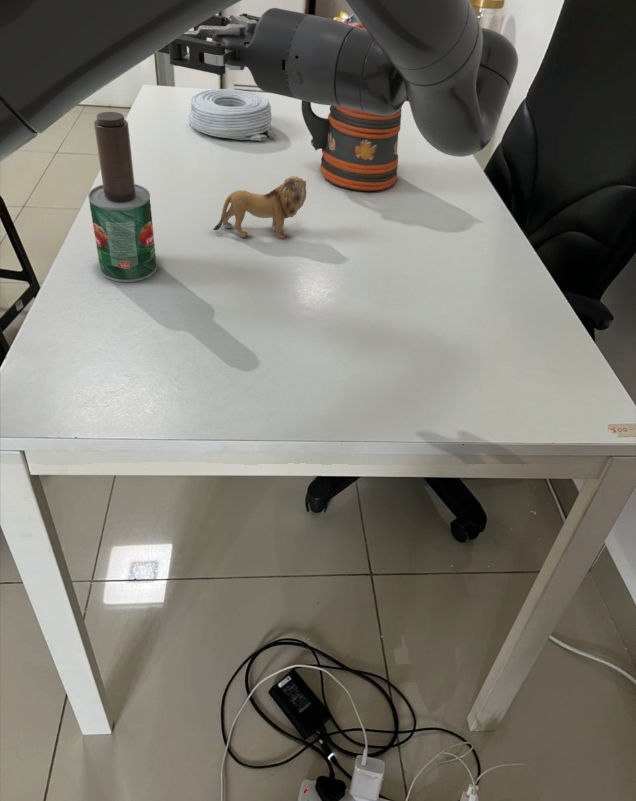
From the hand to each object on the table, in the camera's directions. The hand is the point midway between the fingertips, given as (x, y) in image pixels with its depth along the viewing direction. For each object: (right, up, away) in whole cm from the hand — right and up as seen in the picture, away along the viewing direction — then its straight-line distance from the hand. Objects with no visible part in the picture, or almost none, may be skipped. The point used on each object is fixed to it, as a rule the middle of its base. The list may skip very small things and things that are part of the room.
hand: (171, 29), depth 68 cm
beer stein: (+21, +4, +55) cm, 59 cm away
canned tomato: (-12, -21, +24) cm, 34 cm away
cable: (-3, +19, +70) cm, 72 cm away
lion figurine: (+6, -12, +36) cm, 38 cm away
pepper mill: (-11, -12, +17) cm, 23 cm away
